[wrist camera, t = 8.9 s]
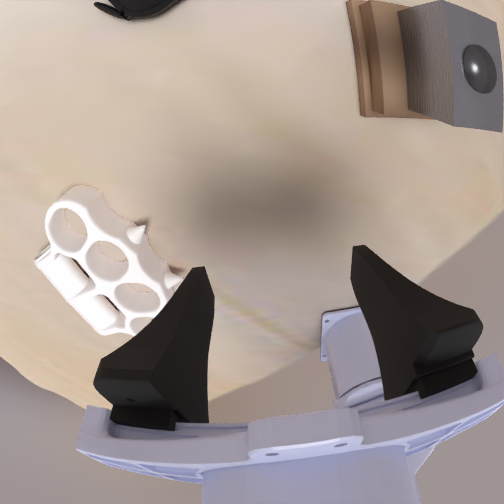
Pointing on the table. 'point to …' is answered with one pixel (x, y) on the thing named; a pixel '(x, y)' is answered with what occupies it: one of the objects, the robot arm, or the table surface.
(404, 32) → the block
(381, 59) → the stand
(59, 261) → the white brass knuckles
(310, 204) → the table surface
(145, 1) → the carrying case or bag
